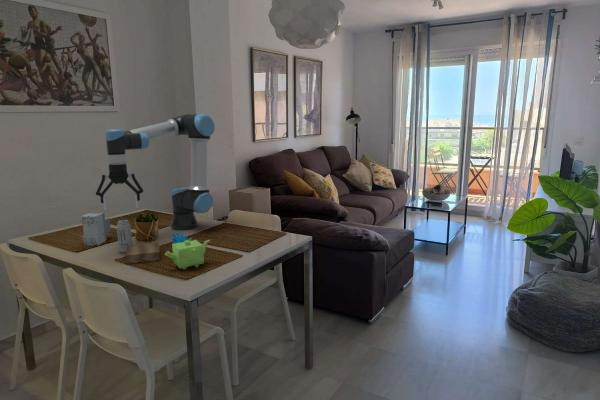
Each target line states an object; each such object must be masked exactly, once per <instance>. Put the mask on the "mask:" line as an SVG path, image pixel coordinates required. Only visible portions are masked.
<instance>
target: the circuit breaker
mask: <svg viewBox="0 0 600 400" xmlns="http://www.w3.org/2000/svg"><path fill="white" fill-rule="evenodd" d="M80 218H81V219H80V222H81V225H82V229H83V236H82V239H83V243H84V244H83V246H94V245H96V244H97V245H98V246H101V243H102V244H103V242H104V243H105V241H106V240H107V241H108V238H107V235H108V234H109V233H111V232H112V228H111V220H110V217H105V213H104V212H89V213H86V214H83V215H81V216H80ZM107 241H106V242H107ZM85 244H87V245H85ZM93 244H94V245H93Z"/></svg>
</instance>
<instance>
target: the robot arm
mask: <svg viewBox="0 0 600 400" xmlns="http://www.w3.org/2000/svg"><path fill="white" fill-rule="evenodd" d="M214 132H215V122H214V119H212V117H211V116H209V115H208V114H204V113H186V114H182V115H179V116H175V117H173V118H172V117H171V118H168V120H167V121H163V122H159V123H155V124H151V125H147V126H142V127H138V128H134V129H130V130H124V129H106V131H105V142H106V151H107V152H106V153H107V162H108V163H107V164H108V173H109V174H104V173H103V174H102V175H101V181H100V184H99V186H98V188H97V190H96V192H95V196H99V197H100V203H101V204H103V208H104V209H103V210H104V211H107V207H108V206H107V199H106V198H107V197H106V195H105V194H106V193H107V191H108V190H109V189H110V188H111V187H112V185H113V184H114V185H117V184H118V185H119V184H120V185H122V184H126V185H127V186H128V187H129V188H130V189H131V190H132V191H133V192H134V193H135V194H134V199H135V208H136V209H138V208H139V203H138V201H141V199H140V198H141V197H140V196H141V195H140V194H142V193H144V189H143V187H142V186H141V184H140V183H139V182H138V181H139V180H137V178H136V176H135V173H134V172H132V173H128V168H127V154H126V151H128V150H145V149H147V148H148V147H149V145H150V141H154V140H157V139H161V138H166V137H170V136H173V137H178V136H187V138H188V140H189V141H190V186H186V187H185V186H184V187H179V188H178V187H177V188H174V189H172V191H171V202H172V205H171V206H172V218H171V221H170V229H172V230H175V231H185V230H186V231H187V230H192V229H195V228H198V226H199V225H198V220H197V217H196V215H195V213H197V214H205V213H208V212H209V211H210V210H211V209H212V207H213V205H214V197H213V195H212V194H211V193H210V188H209V187H208V186H207V181H208V180H207V178H208V177H207V176H208V175H207V173H208V143H209V141H210V140H211V136H213V134H214ZM108 178H109V180H110V182H108V184H107V186H106V187H105V188H104V189H103V190H102V188H103V187H104V186H103V185H104V183H105V181H106V180H107V179H108ZM128 178H130V179H132V181H133V183H134V184H135V186H136V187H137V188H136V187H135V186H134V185H133V184H132V183H131V182H130V181H129V180H128ZM101 190H102V191H101Z"/></svg>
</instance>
